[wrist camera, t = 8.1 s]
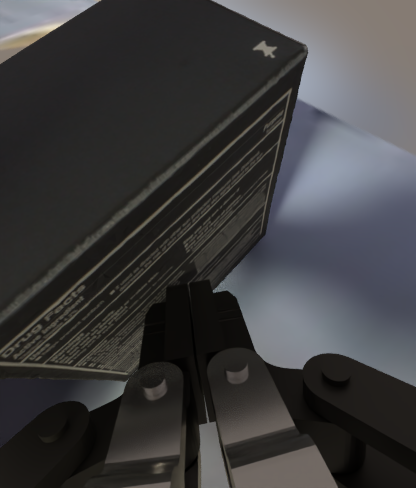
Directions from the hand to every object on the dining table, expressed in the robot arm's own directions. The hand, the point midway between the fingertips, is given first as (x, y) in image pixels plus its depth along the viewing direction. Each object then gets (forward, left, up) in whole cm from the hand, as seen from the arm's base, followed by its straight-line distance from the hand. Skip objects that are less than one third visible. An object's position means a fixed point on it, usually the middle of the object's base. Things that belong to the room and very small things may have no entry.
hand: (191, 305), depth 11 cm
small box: (-2, +4, -5) cm, 6 cm away
